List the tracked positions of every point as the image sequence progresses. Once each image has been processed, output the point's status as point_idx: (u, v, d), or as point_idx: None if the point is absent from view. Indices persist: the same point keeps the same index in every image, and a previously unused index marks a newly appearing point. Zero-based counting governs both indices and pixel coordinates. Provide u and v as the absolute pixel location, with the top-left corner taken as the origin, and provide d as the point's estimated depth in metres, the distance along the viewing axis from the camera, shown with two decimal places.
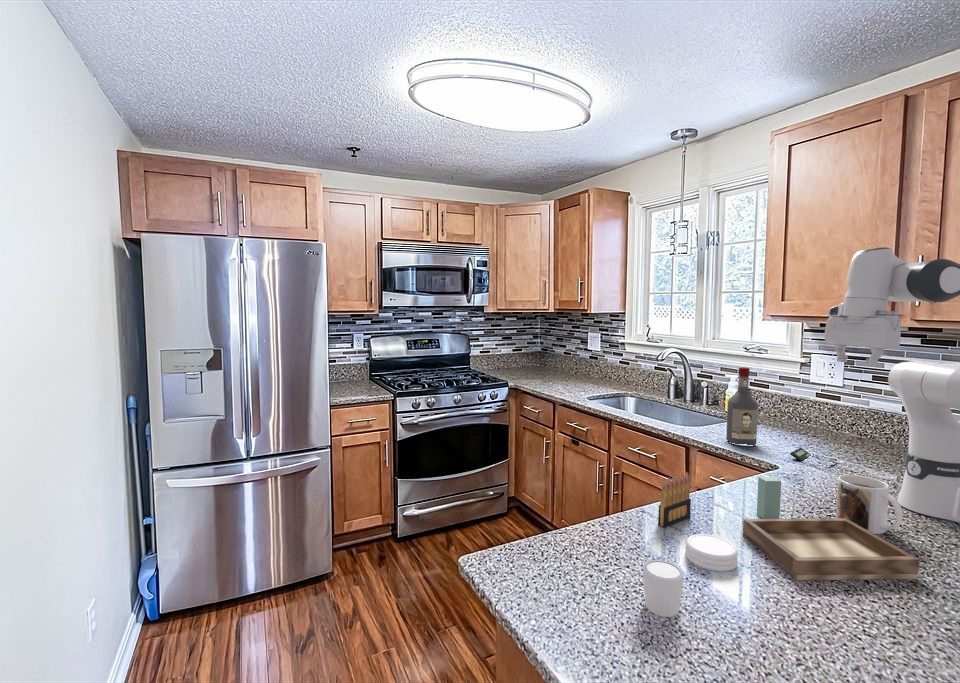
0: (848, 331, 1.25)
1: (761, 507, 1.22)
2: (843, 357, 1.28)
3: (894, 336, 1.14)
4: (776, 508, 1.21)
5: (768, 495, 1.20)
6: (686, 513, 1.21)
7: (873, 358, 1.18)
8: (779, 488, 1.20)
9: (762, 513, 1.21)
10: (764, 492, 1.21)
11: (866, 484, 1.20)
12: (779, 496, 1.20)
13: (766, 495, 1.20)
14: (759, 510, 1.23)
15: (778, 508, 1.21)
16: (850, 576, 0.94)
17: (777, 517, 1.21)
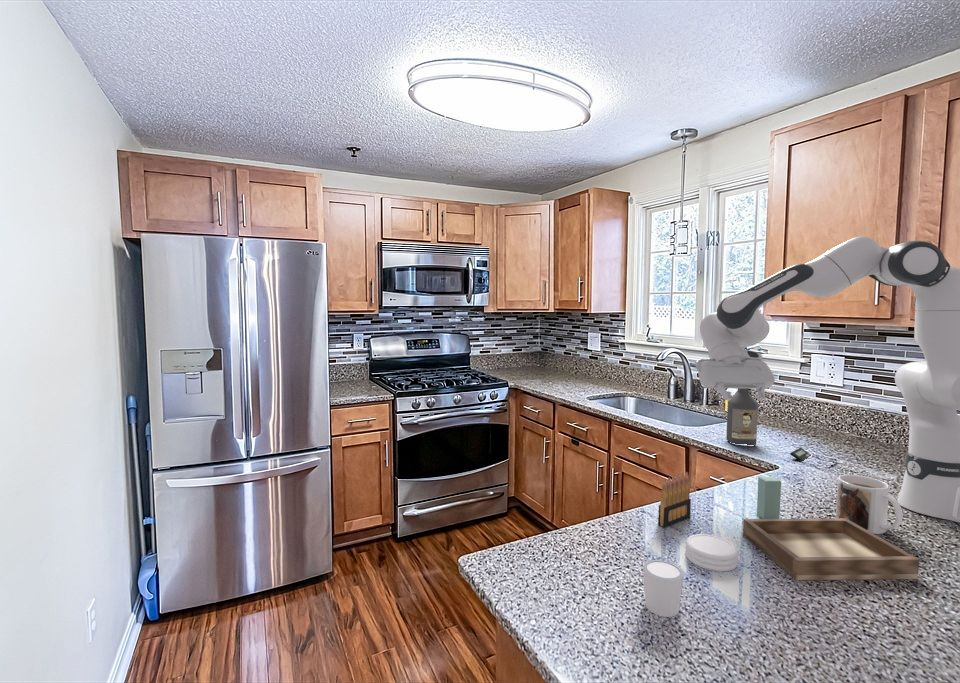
0: None
1: (761, 507, 1.22)
2: (757, 395, 1.34)
3: (701, 375, 1.37)
4: (776, 508, 1.21)
5: (768, 495, 1.20)
6: (686, 513, 1.21)
7: (722, 393, 1.34)
8: (779, 488, 1.20)
9: (762, 513, 1.21)
10: (764, 492, 1.21)
11: (866, 484, 1.20)
12: (780, 496, 1.20)
13: (766, 495, 1.20)
14: (759, 510, 1.23)
15: (778, 508, 1.21)
16: (850, 576, 0.94)
17: (777, 517, 1.21)
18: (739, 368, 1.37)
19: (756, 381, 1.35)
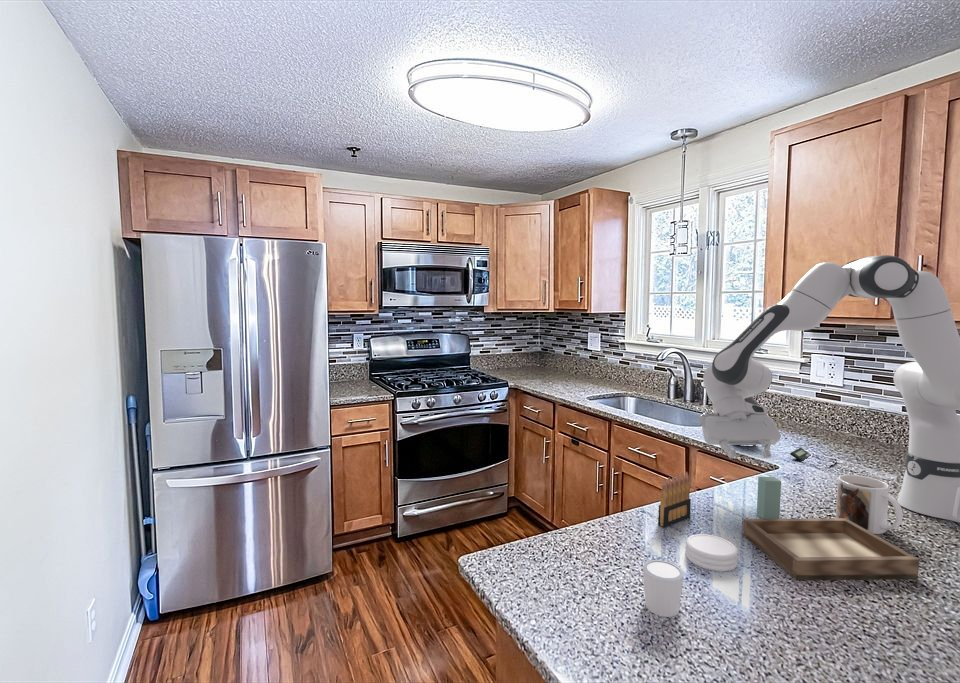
0: None
1: (761, 507, 1.22)
2: (763, 453, 1.31)
3: (705, 432, 1.35)
4: (776, 508, 1.21)
5: (768, 495, 1.20)
6: (686, 513, 1.21)
7: (726, 451, 1.31)
8: (779, 488, 1.20)
9: (762, 513, 1.21)
10: (764, 492, 1.21)
11: (866, 484, 1.20)
12: (779, 496, 1.20)
13: (766, 495, 1.20)
14: (759, 510, 1.23)
15: (778, 508, 1.21)
16: (850, 576, 0.94)
17: (777, 517, 1.21)
18: (744, 424, 1.35)
19: (761, 438, 1.32)
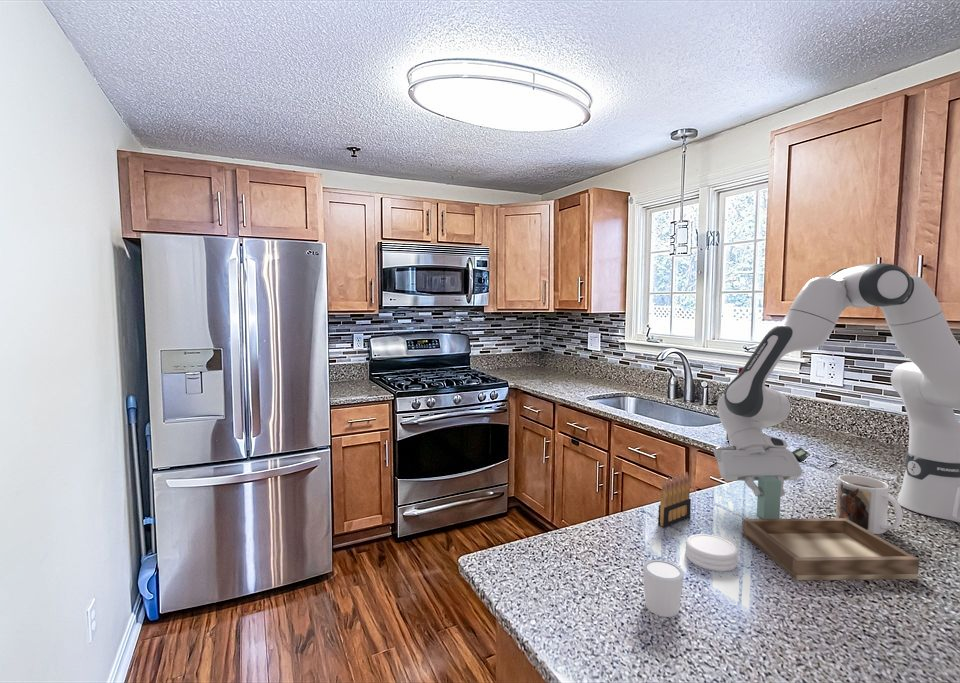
0: None
1: (761, 507, 1.22)
2: None
3: (721, 467, 1.26)
4: (776, 508, 1.21)
5: (768, 495, 1.20)
6: (686, 513, 1.21)
7: (752, 488, 1.23)
8: (779, 488, 1.20)
9: (762, 513, 1.21)
10: (764, 492, 1.21)
11: (866, 484, 1.20)
12: (779, 496, 1.20)
13: (766, 495, 1.20)
14: (759, 510, 1.23)
15: (778, 508, 1.21)
16: (850, 576, 0.94)
17: (777, 517, 1.21)
18: (763, 458, 1.26)
19: (782, 474, 1.23)
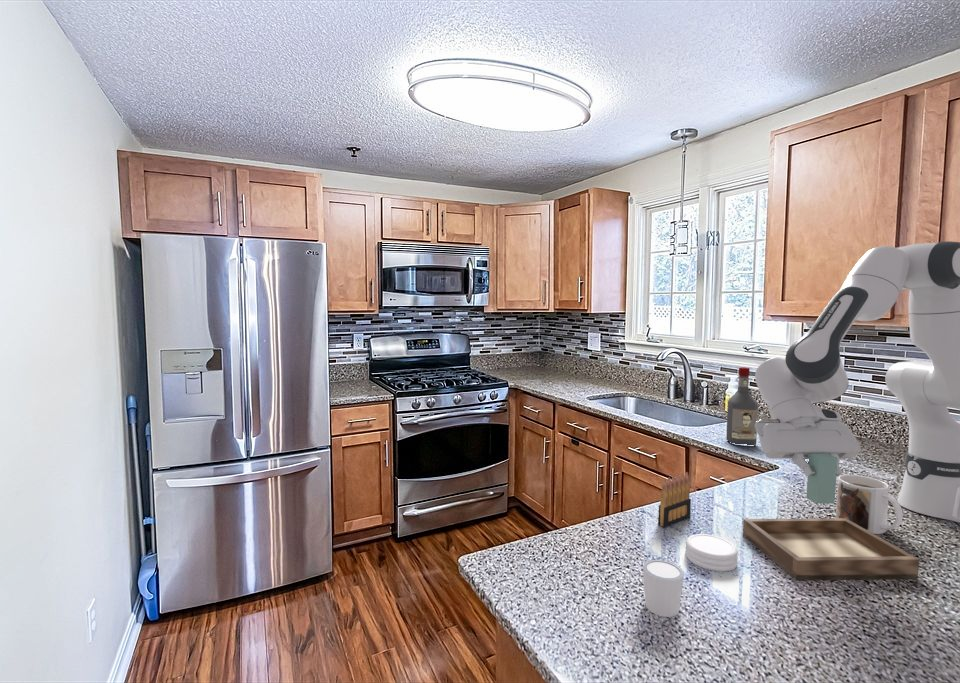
0: None
1: (813, 489, 1.03)
2: None
3: (764, 442, 1.08)
4: (831, 490, 1.02)
5: (822, 475, 1.02)
6: (686, 513, 1.21)
7: (802, 467, 1.04)
8: (835, 466, 1.02)
9: (814, 496, 1.03)
10: (816, 470, 1.02)
11: (866, 484, 1.20)
12: (835, 475, 1.02)
13: (819, 475, 1.02)
14: (810, 492, 1.04)
15: (833, 490, 1.02)
16: (850, 576, 0.94)
17: (832, 501, 1.02)
18: (813, 433, 1.08)
19: (837, 451, 1.05)
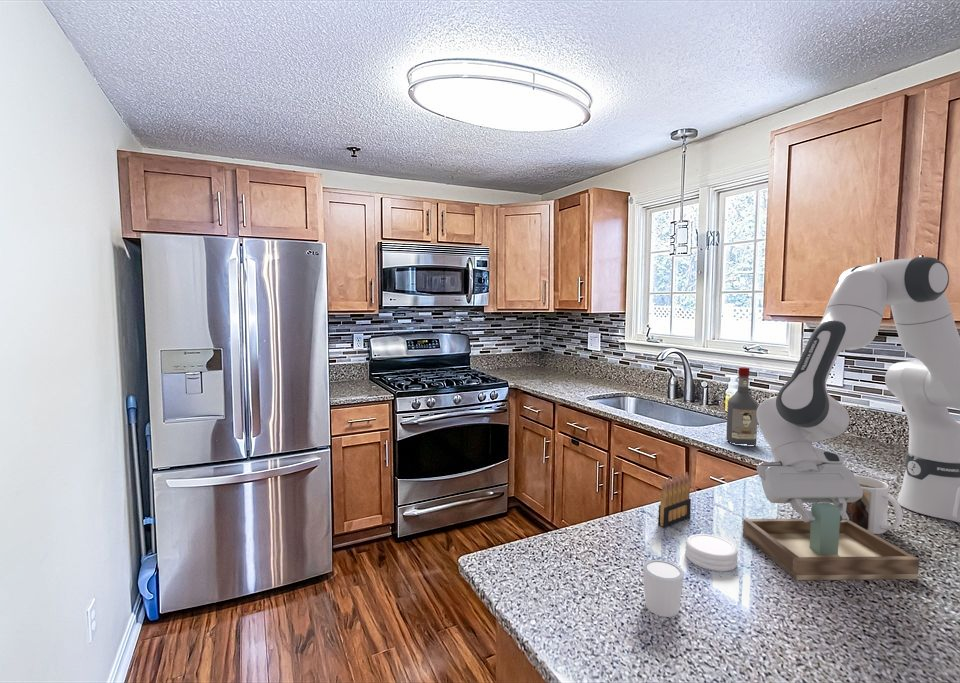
0: None
1: (816, 539, 1.03)
2: None
3: (766, 486, 1.07)
4: (834, 541, 1.02)
5: (825, 526, 1.01)
6: (686, 513, 1.21)
7: (800, 513, 1.04)
8: (838, 517, 1.01)
9: (818, 547, 1.02)
10: (820, 521, 1.02)
11: (866, 484, 1.20)
12: (838, 526, 1.01)
13: (822, 526, 1.01)
14: (813, 543, 1.04)
15: (836, 541, 1.02)
16: (850, 576, 0.94)
17: (835, 551, 1.02)
18: (815, 476, 1.07)
19: (839, 496, 1.04)
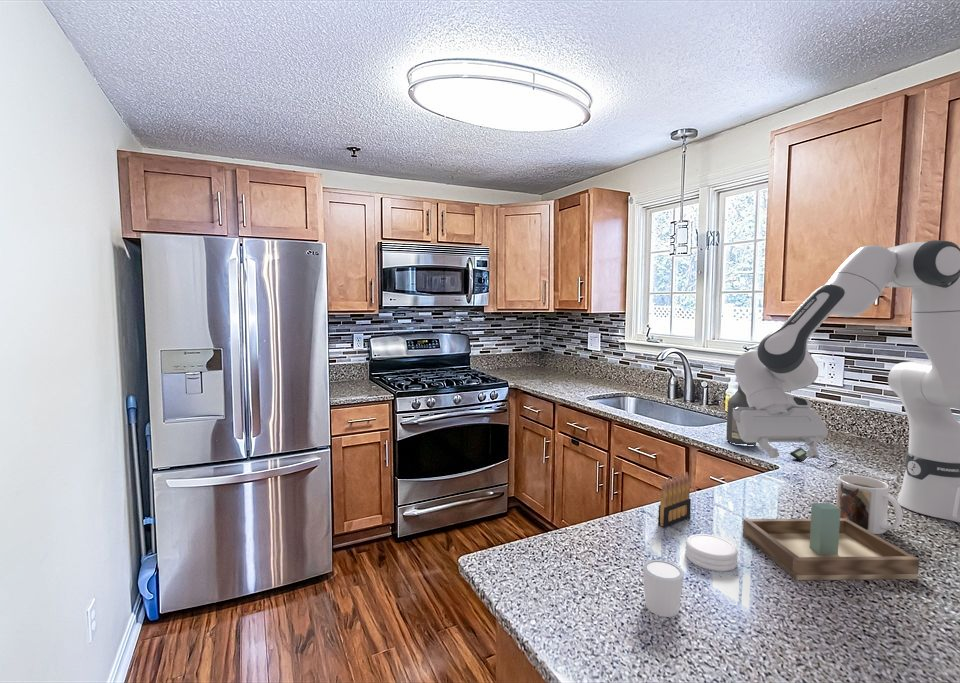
0: None
1: (816, 539, 1.03)
2: (808, 452, 1.14)
3: (740, 428, 1.17)
4: (834, 541, 1.02)
5: (825, 526, 1.01)
6: (686, 513, 1.21)
7: (766, 450, 1.14)
8: (838, 517, 1.01)
9: (818, 547, 1.02)
10: (820, 521, 1.02)
11: (866, 484, 1.20)
12: (838, 526, 1.01)
13: (822, 526, 1.01)
14: (813, 543, 1.04)
15: (836, 541, 1.02)
16: (850, 576, 0.94)
17: (835, 551, 1.02)
18: (785, 418, 1.18)
19: (806, 435, 1.15)
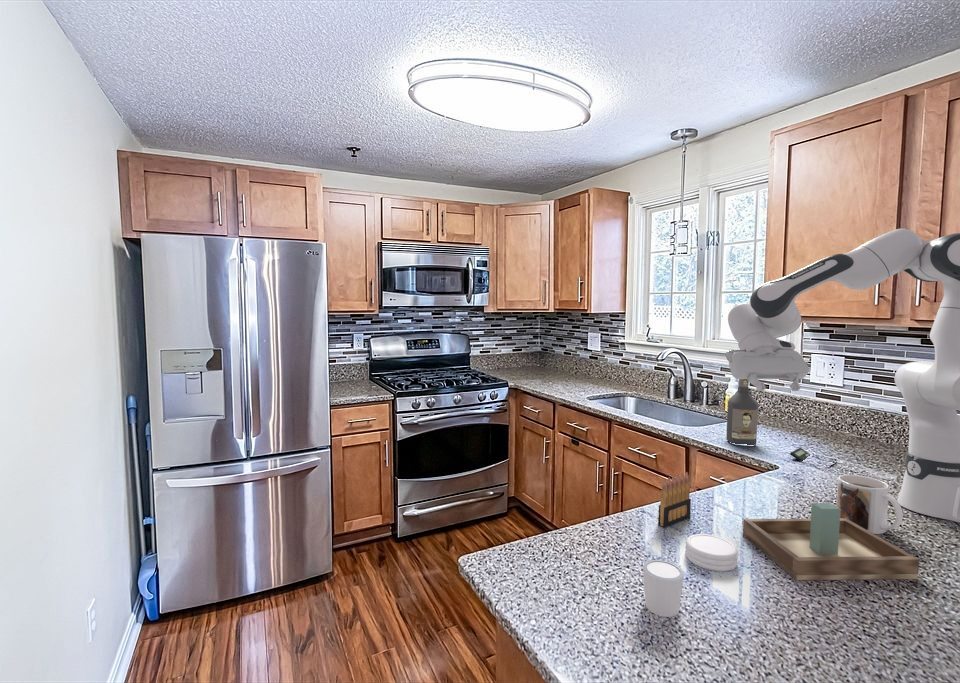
0: None
1: (816, 539, 1.03)
2: (791, 386, 1.30)
3: (732, 366, 1.33)
4: (834, 541, 1.02)
5: (825, 526, 1.01)
6: (686, 513, 1.21)
7: (755, 384, 1.30)
8: (838, 517, 1.01)
9: (818, 547, 1.02)
10: (820, 521, 1.02)
11: (866, 484, 1.20)
12: (838, 526, 1.01)
13: (822, 526, 1.01)
14: (813, 543, 1.04)
15: (836, 541, 1.02)
16: (850, 576, 0.94)
17: (835, 551, 1.02)
18: (772, 358, 1.34)
19: (790, 371, 1.31)
